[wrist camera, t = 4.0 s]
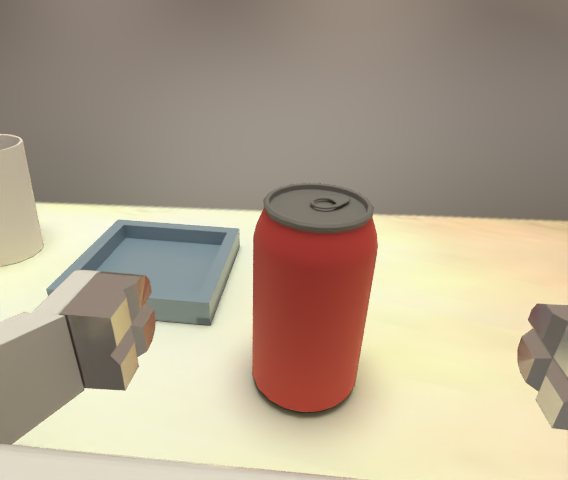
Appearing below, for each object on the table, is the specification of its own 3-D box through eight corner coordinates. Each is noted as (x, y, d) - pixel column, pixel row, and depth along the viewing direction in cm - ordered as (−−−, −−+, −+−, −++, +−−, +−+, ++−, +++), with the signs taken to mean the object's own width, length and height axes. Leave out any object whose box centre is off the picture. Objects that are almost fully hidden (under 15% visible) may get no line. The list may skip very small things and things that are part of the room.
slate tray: (52, 311, 31) (46, 289, 30) (121, 237, 42) (118, 219, 41) (210, 325, 31) (209, 303, 30) (239, 246, 41) (239, 228, 40)
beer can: (377, 391, 26) (413, 214, 20) (285, 437, 23) (297, 243, 17) (316, 329, 31) (332, 173, 25) (234, 359, 28) (231, 189, 22)
